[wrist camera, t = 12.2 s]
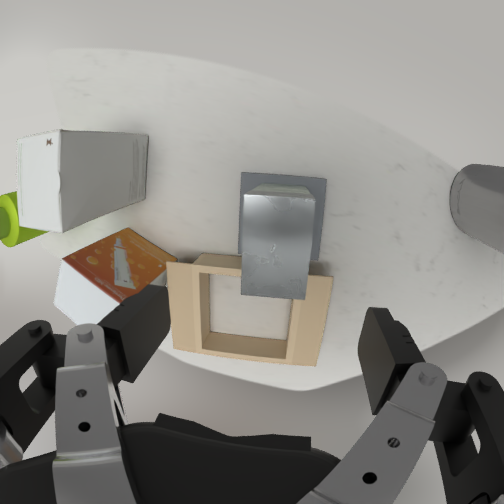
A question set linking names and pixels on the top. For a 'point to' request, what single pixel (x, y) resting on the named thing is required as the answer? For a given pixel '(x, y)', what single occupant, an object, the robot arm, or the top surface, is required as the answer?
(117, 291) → the small box
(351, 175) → the top surface
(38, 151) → the skincare box
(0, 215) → the soap dispenser
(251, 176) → the mat
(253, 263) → the tea tin
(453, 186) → the robot arm
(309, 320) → the wooden rectangular frame
